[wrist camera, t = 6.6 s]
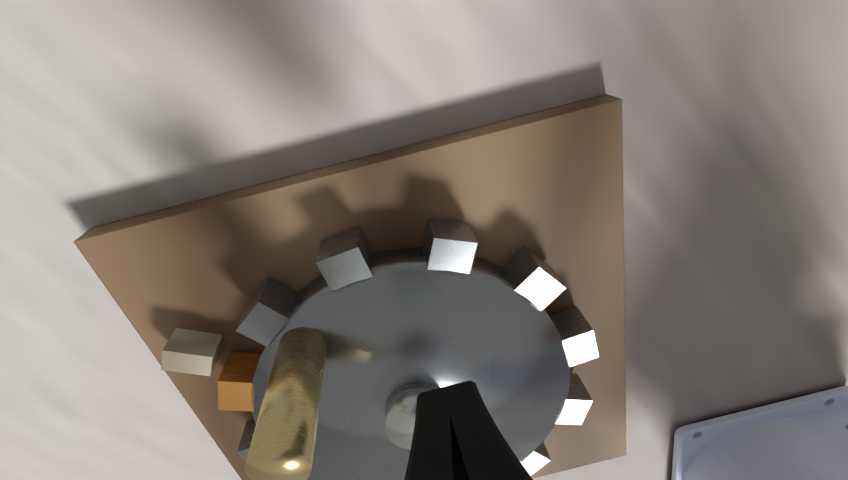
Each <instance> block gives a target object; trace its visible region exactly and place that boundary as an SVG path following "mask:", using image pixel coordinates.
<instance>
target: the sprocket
mask: <svg viewBox="0 0 848 480" xmlns="http://www.w3.org/2000/svg"><path fill="white" fill-rule="evenodd" d="M477 244H478V243H477V240H476V238H475V236H474V234H473V232H472V229H471V227H470V225H469V223H467V222H459V221H451V220H443V219H435V218H428V222H427V227H426V232H425V237H424V242H423V246H422V247H417V248H401V249H393V250H388V251H382V252H377V253H372V251H371V249H370V247H369V245H368V243H367V241H366V239H365V237H364V234H363V232H362V230H361V228H360V226H357V227H355V228H352V229H349V230H347V231H344V232H341V233H339V234H336V235H333V236H331V237H328V238H325V239H323V240H321V241H320V245H319V250H318V254H317V259H316V264H317V266H318V268H319V270H320V271H321V273H322V275H321V276H319V277H317V278H316V279H314V280H313V281H312V282H310V283H309V284H308V285H307V286H305V287H304V288H303V289H301V290H300V291H299V292H298V293H296V292H294V291H292V290H291V289H289V288H287V287H285V286H284V285H282V284H280V283H278V282H277V281H275V280H273V279H271V278H270V277H268V278H267V279H266V281H265V282H264V283H263V284H262V286H261V287H260V288H259V289H258V291H257V292H256V293H255V294H254V296H253V297H252V298H251V299H250V301H249V302H248V303H247V305H246V308H245V310H244V312H243V315H242V317H241V319H240V322H239V324H238V326H237V329H236V331H237V332H239V333H241V334H243V335H245V336H247V337H249V338H251V339H252V340H254V341H256V342H258V343H260V344H262V345H264V346H263V350H262V353H247V352H232V351H230V353H229V355H228V358H227V360H226V362H225V365H224V367H223V370H222V372H221V374H220V377H219V379H218V405H219V410H228V411H252V414H253V417H254V418H252V419H249V420H247V421H246V424H245V427H244V431H243V434H242V437H241V440H240V444H239V447H238V450H237V453H238V454H239V455H240V457H241V458H242V459H243V460H244V461H245V467H244V470H245V474H246V476H247V477H248V478H249V480H404V479H405V474H406V469H407V464H408V460H409V455H410V450H411V444H412V438H413V432H414V425H415V417H416V405H417V396H418V395H419V394H420V393H421V392H425V391H429V390H433V389H437V388H441V387H445V386H449V385H453V384H457V383H461V382H465V381H469V380H471V381H473V382H475V383H476V385H477V388H478V390H479V393H480V395H481V397H482V400H483V402H484V404H485V406H486V408H487V410H488V411H489V413H490V415H491V417H492V419H493V420H494V422H495V424H496V426H497V427H498V429H499V431H500V432H501V434H502V435H503V437H504V439H505V440H506V442H507V443H508V445H509V446H510V448H511V449H512V451H513V452H514V454H515V455H516V457H517V458H518V459H519V461H520V462H521V464H522V465H523V467H524V468H525V470H526V471H527V472H528V474H529V475H530V476H532V475H533V474H534V473H536V472H537V471H538V470H540V469H541V468H542V467H543V466H545V465H546V464H547V463H549V462H550V461H551V459H550V456H549V454H548V451H547V449H546V446H545V444H544V440H545V439H546V437H547V436H548V435H549V433H550V432H551V430H552V429H553V428H554V426H555V425H556V424H567V425H582V423H583V421H584V418H585V416H586V414H587V412H588V410H589V408H590V406H591V404H592V402H593V400H592V398H591V396H590V395H589V393H588V391H587V389H586V388H585V386H584V384H583V382H582V381H581V379H580V377H579V375H578V374H576V373H570V367H571V366H574V365H577V364H580V363H583V362H586V361H589V360H592V359H595V358H598V357H599V353H598V349H597V344H596V339H595V335H594V330H593V329H592V327H591V326H590V324H589V323H588V321H587V320H586V319H585V317H584V316H583V314H582V313H581V311H580V310H579V309H578V307H577V306H574V307H571V308H568V309H565V310H563V311H560V312H557V313H554V314H551V315H548V313H547V311H546V310H545V307H546V306H547V305H548V304H550V303H551V302H552V301H553V300H554V299H555V298H556V297H557V296H558V295H559V294H561V293H562V292H563V291H564V290H565V289H566V287H565V285H564V284H563V283H562V281H561V280H560V278H559V277H558V276H557V274H556V273H555V271H554V270H553V268H552V267H551V266H550V265H549V264H548V263H547V262H545V261H544V260H543V259H542V258H540V257H539V256H538V255H537V254H535V253H534V252H533V251H532V250H530V249H529V248H528V247H526V246H524V247H523V248H522V249H521V250H520V251H519V252H518V253H517V254H516V255H515V256H514V257H513V258H512V259H511V260H510V261H509V262H507V263H506V264H505V265H504V266H503V267H501V266H499V265H497V264H495V263H493V262H490V261H488V260H486V259H484V258H481V257H478V256H474V255H475V251H476V248H477Z"/></svg>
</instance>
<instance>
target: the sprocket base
mask: <svg viewBox="0 0 848 480" xmlns="http://www.w3.org/2000/svg"><path fill="white" fill-rule="evenodd" d="M428 218H435V219H443V220H451V221H459V222H467V223H469V225H470V227H471V229H472V232H473V234H474V236H475V238H476V240H477V243H478V244H477V248H476V251H475V255H474V256H478V257H481V258H484V259H486V260H488V261H490V262H493V263H495V264H497V265H499V266H501V267H503V266H504V265H505V264H506V263H507V262H509V261H510V260H511V259H512V258H513V257H514V256H515V255H516V254H517V253H518V252H519V251H520V250H521V249H522V248H523V247H524V246H526V247H528V248H529V249H530V250H532V251H533V252H534V253H535V254H537V255H538V256H539V257H540V258H542V259H543V260H544V261H545V262H547V263H548V264H549V265H550V266H551V267H552V268H553V270H554V271H555V273H556V274H557V276H558V277H559V278H560V280H561V281H562V283H563V284H564V285H565V287H566V289H565V290H564V291H563V292H562V293H561V294H559V295H558V296H557V297H556V298H555V299H554V300H553V301H552V302H551V303H550V304H548V305H547V306H546V307H545V310H546V311H547V313H548V315H551V314H554V313H557V312H560V311H563V310H565V309H568V308H571V307H574V306H577V307H578V309H579V310H580V311H581V313H582V314H583V316H584V317H585V319H586V320H587V321H588V323H589V324H590V326H591V327H592V329H593V330H594V335H595V339H596V344H597V349H598V353H599V357H598V358H595V359H592V360H589V361H586V362H583V363H580V364H577V365H574V366H571V367H570V373H576V374H578V375H579V377H580V379H581V381H582V382H583V384H584V386H585V388H586V389H587V391H588V393H589V395H590V396H591V398H592V400H593V402H592V404H591V406H590V408H589V410H588V412H587V414H586V416H585V418H584V421H583V423H582V425H567V424H556V425H555V426H554V428H553V429H552V430H551V432H550V433H549V435H548V436H547V437H546V439H545V440H544V444H545V446H546V449H547V451H548V454H549V456H550V459H551V461H550V462H549V463H547V464H546V465H545V466H543V467H542V468H541V469H540V470H538V471H537V472H536V473H534V474H533V475H532V476H531V478H536V477H540V476H544V475H548V474H552V473H556V472H560V471H564V470H568V469H572V468H576V467H580V466H584V465H588V464H592V463H596V462H600V461H604V460H608V459H612V458H616V457H620V456H624V455H626V391H625V314H624V238H623V161H622V99H619V98H616V97H614V96H611V95H608V94H605V95H601V96H597V97H594V98H590V99H586V100H582V101H578V102H574V103H571V104H567V105H563V106H559V107H555V108H551V109H547V110H544V111H540V112H536V113H532V114H528V115H524V116H521V117H517V118H513V119H509V120H505V121H501V122H497V123H494V124H490V125H486V126H482V127H478V128H474V129H471V130H467V131H463V132H459V133H455V134H451V135H448V136H444V137H440V138H436V139H432V140H428V141H424V142H421V143H417V144H413V145H409V146H405V147H401V148H398V149H394V150H390V151H386V152H382V153H378V154H375V155H371V156H367V157H363V158H359V159H355V160H351V161H348V162H344V163H340V164H336V165H332V166H328V167H325V168H321V169H317V170H313V171H309V172H305V173H302V174H298V175H294V176H290V177H286V178H282V179H278V180H275V181H271V182H267V183H263V184H259V185H255V186H252V187H248V188H244V189H240V190H236V191H232V192H229V193H225V194H221V195H217V196H213V197H209V198H205V199H202V200H198V201H194V202H190V203H186V204H182V205H179V206H175V207H171V208H167V209H163V210H159V211H156V212H152V213H148V214H144V215H140V216H136V217H132V218H129V219H125V220H121V221H117V222H113V223H109V224H106V225H102V226H98V227H94V228H91V229H90V230H88V231H87V232H86V233H84V234H83V235H82V236H80V237H79V238H78V239H77V240H75V241H74V243H75V245H76V246H77V248H78V249H79V250H80V252H81V253H82V255H83V256H84V257H85V259H86V260H87V262H88V263H89V264H90V266H91V267H92V269H93V270H94V272H95V273H96V274H97V276H98V277H99V279H100V280H101V281H102V283H103V284H104V286H105V287H106V288H107V290H108V291H109V293H110V294H111V296H112V297H113V298H114V300H115V301H116V303H117V304H118V305H119V307H120V308H121V310H122V311H123V312H124V314H125V315H126V317H127V318H128V320H129V321H130V322H131V324H132V325H133V327H134V328H135V329H136V331H137V332H138V334H139V335H140V336H141V338H142V339H143V341H144V342H145V343H146V345H147V346H148V348H149V349H150V351H151V352H152V353H153V355H154V356H155V358H156V359H157V360H158V362H159V363H160V365H161V370H165V372H166V373H167V375H168V376H169V377H170V379H171V380H172V382H173V383H174V384H175V386H176V387H177V389H178V390H179V391H180V393H181V394H182V396H183V397H184V399H185V400H186V401H187V403H188V404H189V406H190V407H191V408H192V410H193V411H194V413H195V414H196V415H197V417H198V418H199V420H200V421H201V423H202V424H203V425H204V427H205V428H206V430H207V431H208V432H209V434H210V435H211V437H212V438H213V439H214V441H215V442H216V444H217V445H218V447H219V448H220V449H221V451H222V452H223V454H224V455H225V456H226V458H227V459H228V461H229V462H230V463H231V465H232V466H233V468H234V469H235V471H236V472H237V473H238V475H239V476H240V478H241V479H242V480H249V478H248V477H247V476H246V474H245V470H244V467H245V461H244V460H243V459H242V458H241V457H240V455H239V454H238V453H237V450H238V447H239V444H240V440H241V437H242V434H243V431H244V427H245V424H246V421H247V420H249V419H252V418H254V417H253V414H252V411H228V410H219V405H218V379H219V377H220V374H221V372H222V370H223V367H224V365H225V362H226V360H227V358H228V355H229V353H230V351H232V352H247V353H262V350H263V346H264V345H262V344H260V343H258V342H256V341H254V340H252V339H251V338H249V337H247V336H245V335H243V334H241V333H239V332H237V331H236V329H237V326H238V324H239V322H240V319H241V317H242V315H243V312H244V310H245V308H246V305H247V303H248V302H249V301H250V299H251V298H252V297H253V296H254V294H255V293H256V292H257V291H258V289H259V288H260V287H261V286H262V284H263V283H264V282H265V281H266V279H267V278H268V277H270V278H271V279H273V280H275V281H277V282H278V283H280V284H282V285H284V286H285V287H287V288H289V289H291V290H292V291H294V292H296V293H298V292H299V291H300V290H301V289H303V288H304V287H305V286H307V285H308V284H309V283H310V282H312V281H313V280H314V279H316V278H317V277H319V276H321V275H322V273H321V271H320V270H319V268H318V266H317V264H316V259H317V254H318V250H319V245H320V241H321V240H323V239H325V238H328V237H331V236H333V235H336V234H339V233H341V232H344V231H347V230H349V229H352V228H355V227H357V226H360V228H361V230H362V232H363V234H364V237H365V239H366V241H367V243H368V245H369V247H370V249H371V251H372V253H377V252H382V251H388V250H393V249H401V248H417V247H422V246H423V242H424V237H425V232H426V227H427V222H428Z"/></svg>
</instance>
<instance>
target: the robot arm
mask: <svg viewBox="0 0 848 480" xmlns="http://www.w3.org/2000/svg"><path fill="white" fill-rule="evenodd" d="M404 480H533V479H532V478H531V476H530V475H529V474H528V472H527V471H526V470H525V468H524V467H523V465H522V464H521V462H520V461H519V459H518V458H517V457H516V455H515V454H514V452H513V451H512V449H511V448H510V446H509V445H508V443H507V442H506V440H505V439H504V437H503V435H502V434H501V432H500V431H499V429H498V427H497V426H496V424H495V422H494V420H493V419H492V417H491V415H490V413H489V411H488V410H487V408H486V406H485V404H484V402H483V400H482V397H481V395H480V393H479V390H478V388H477V385H476V383H475V382H473V381H471V380H469V381H465V382H461V383H457V384H453V385H449V386H445V387H441V388H437V389H433V390H429V391H425V392H421V393H420V394H419V395H418V396H417V405H416V417H415V425H414V432H413V438H412V444H411V450H410V455H409V460H408V464H407V469H406V474H405V479H404ZM671 480H848V386H841V387H837V388H833V389H829V390H825V391H821V392H817V393H813V394H809V395H805V396H801V397H797V398H793V399H789V400H785V401H781V402H777V403H773V404H769V405H765V406H761V407H757V408H753V409H749V410H745V411H741V412H737V413H733V414H729V415H725V416H721V417H717V418H713V419H709V420H705V421H701V422H697V423H693V424H689V425H685V426H682V427H680V428H678V429H677V430H676V432H675V435H674V449H673V464H672V479H671Z"/></svg>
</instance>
